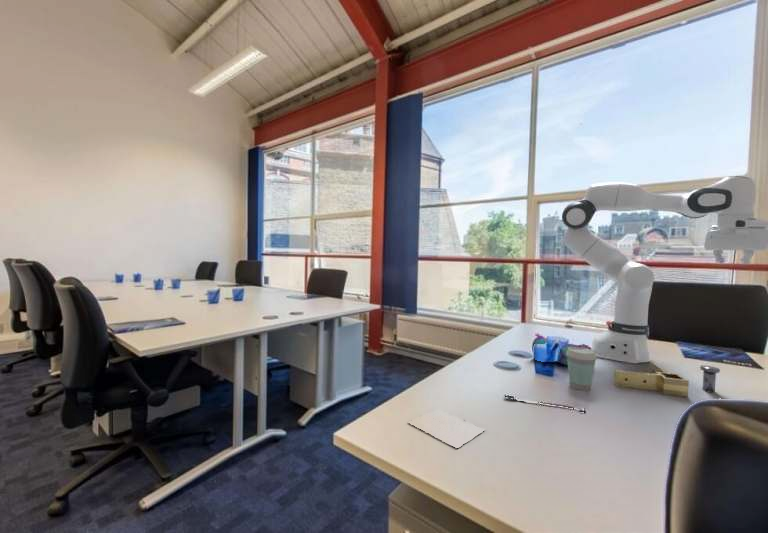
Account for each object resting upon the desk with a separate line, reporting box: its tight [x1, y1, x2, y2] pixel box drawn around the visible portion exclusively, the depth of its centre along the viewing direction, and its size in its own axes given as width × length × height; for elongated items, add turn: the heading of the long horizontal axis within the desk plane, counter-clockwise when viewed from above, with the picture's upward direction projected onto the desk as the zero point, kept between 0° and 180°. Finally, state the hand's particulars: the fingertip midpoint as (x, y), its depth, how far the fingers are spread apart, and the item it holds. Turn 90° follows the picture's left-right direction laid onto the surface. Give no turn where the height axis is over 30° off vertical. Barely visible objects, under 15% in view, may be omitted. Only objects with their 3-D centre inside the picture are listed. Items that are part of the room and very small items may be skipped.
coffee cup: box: [566, 347, 598, 391], centre depth 108 cm, size 8×9×12 cm
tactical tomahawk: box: [503, 394, 587, 414], centre depth 97 cm, size 21×7×1 cm, turn 68°
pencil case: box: [531, 333, 591, 367], centre depth 131 cm, size 21×9×10 cm, turn 41°
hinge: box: [613, 360, 690, 397], centre depth 112 cm, size 18×18×5 cm
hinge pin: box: [699, 364, 721, 393], centre depth 106 cm, size 4×4×7 cm
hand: (731, 263), depth 118 cm, fingers open, 8 cm apart
